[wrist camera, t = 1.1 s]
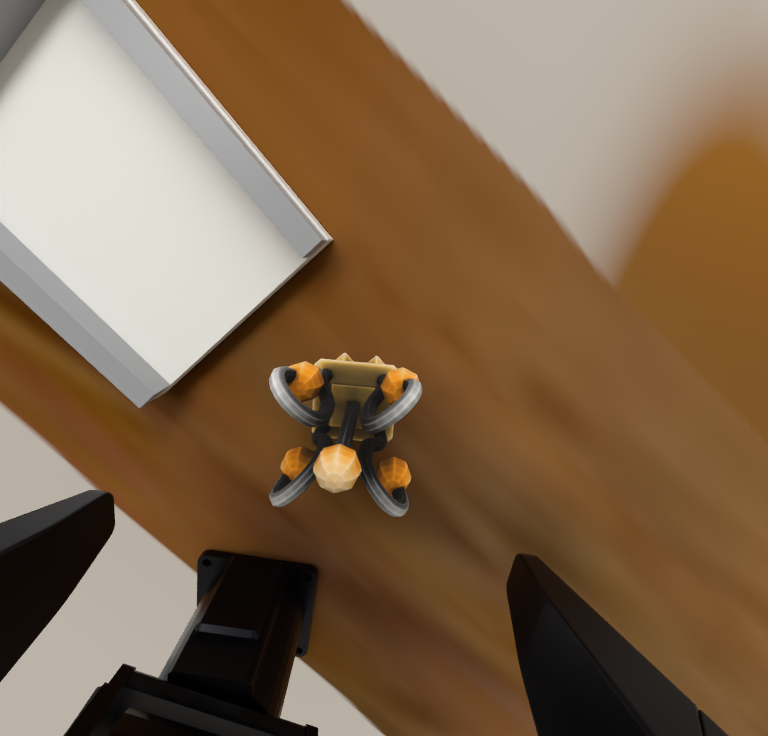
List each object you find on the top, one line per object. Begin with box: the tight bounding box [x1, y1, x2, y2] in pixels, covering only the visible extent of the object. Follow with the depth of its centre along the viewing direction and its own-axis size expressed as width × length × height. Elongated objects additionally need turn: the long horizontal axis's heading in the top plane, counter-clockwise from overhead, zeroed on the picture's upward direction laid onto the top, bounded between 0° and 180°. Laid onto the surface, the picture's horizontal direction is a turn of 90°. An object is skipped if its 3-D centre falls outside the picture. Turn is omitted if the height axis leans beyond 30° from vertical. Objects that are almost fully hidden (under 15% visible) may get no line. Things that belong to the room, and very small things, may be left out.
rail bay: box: [0, 0, 333, 408], centre depth 15 cm, size 13×11×2 cm
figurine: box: [269, 353, 422, 517], centre depth 14 cm, size 5×5×8 cm
